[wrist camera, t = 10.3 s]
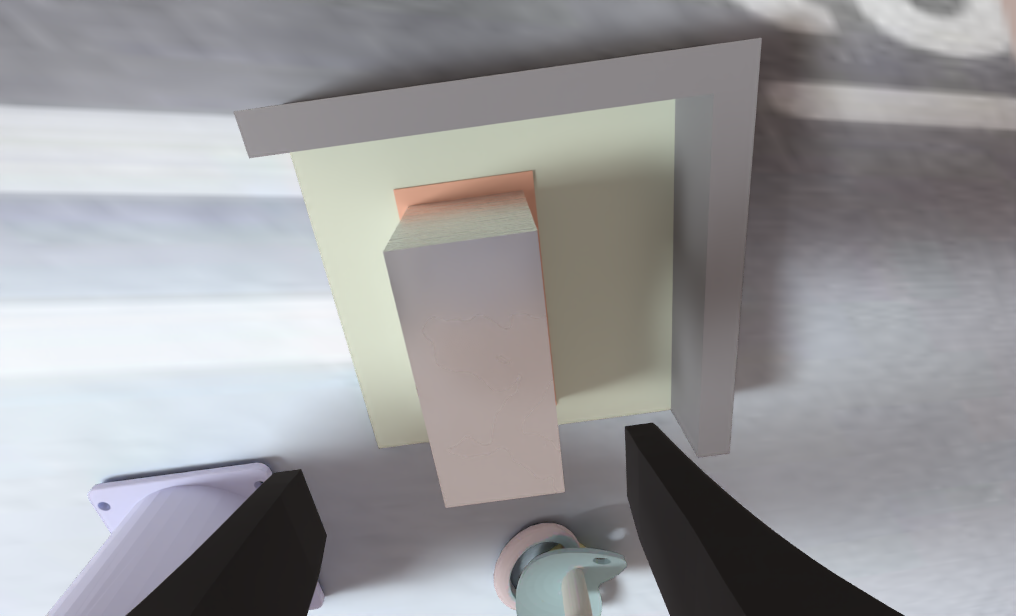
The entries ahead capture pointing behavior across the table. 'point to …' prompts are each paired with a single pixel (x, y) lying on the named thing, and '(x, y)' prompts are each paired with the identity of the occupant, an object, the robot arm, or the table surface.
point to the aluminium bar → (479, 345)
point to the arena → (552, 219)
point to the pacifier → (555, 574)
